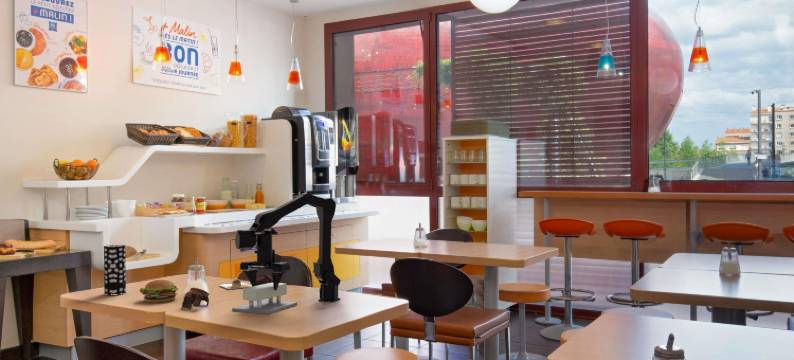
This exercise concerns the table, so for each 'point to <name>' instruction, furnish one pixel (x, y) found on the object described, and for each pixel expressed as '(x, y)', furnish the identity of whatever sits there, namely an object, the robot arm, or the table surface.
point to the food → (159, 291)
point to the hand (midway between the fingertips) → (265, 289)
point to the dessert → (236, 284)
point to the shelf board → (264, 292)
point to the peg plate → (265, 306)
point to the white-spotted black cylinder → (114, 269)
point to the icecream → (264, 280)
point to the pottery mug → (195, 298)
